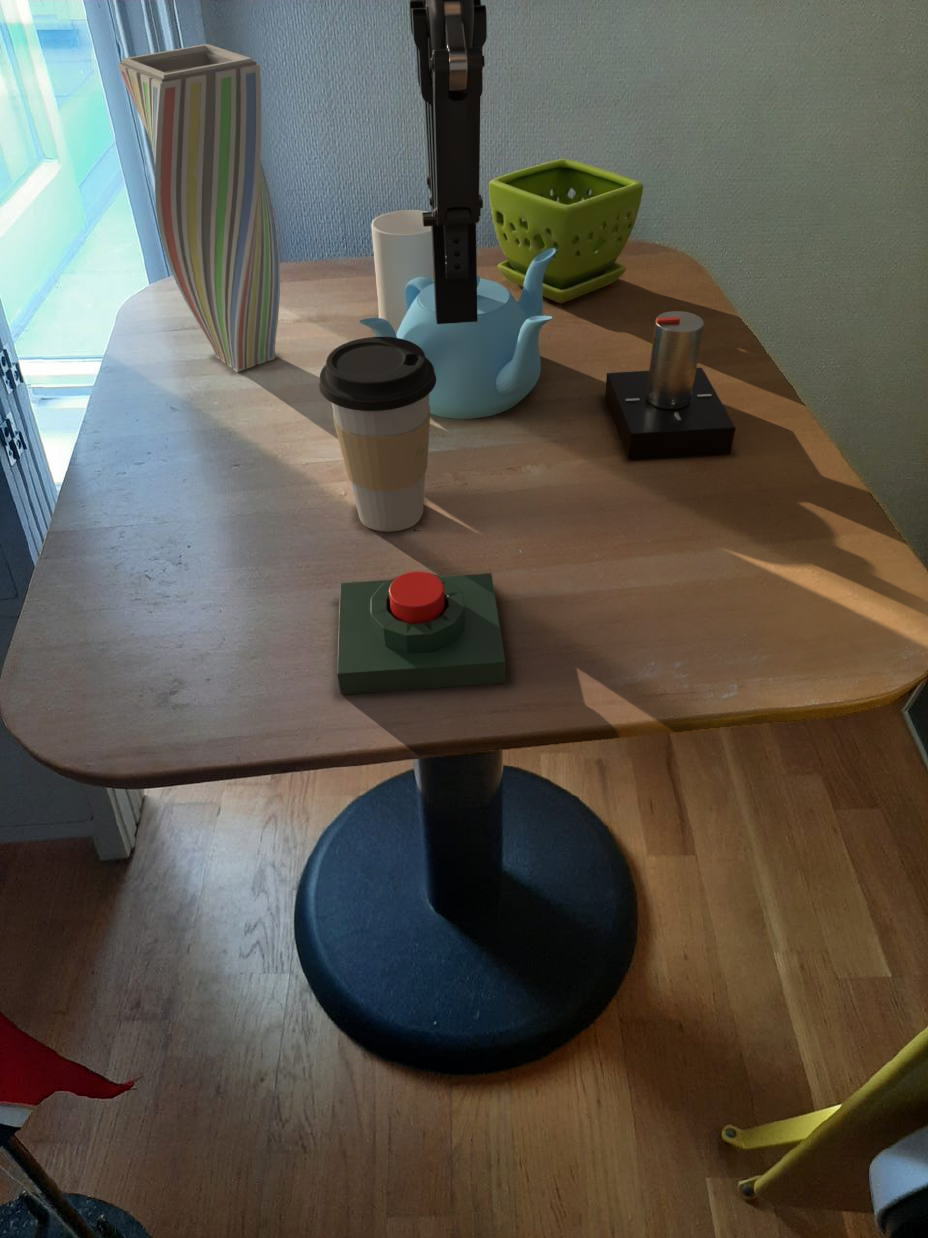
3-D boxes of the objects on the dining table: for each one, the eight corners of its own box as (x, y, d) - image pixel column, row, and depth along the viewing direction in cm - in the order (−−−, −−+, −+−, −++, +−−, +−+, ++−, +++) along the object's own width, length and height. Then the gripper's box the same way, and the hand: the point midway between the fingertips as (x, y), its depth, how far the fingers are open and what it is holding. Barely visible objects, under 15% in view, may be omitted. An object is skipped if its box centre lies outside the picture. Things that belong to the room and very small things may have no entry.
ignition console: (505, 683, 67) (505, 643, 65) (340, 695, 67) (334, 655, 64) (491, 593, 75) (491, 554, 72) (343, 603, 74) (337, 565, 71)
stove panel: (730, 454, 89) (736, 425, 87) (628, 460, 89) (631, 432, 86) (697, 393, 98) (702, 365, 96) (604, 398, 97) (606, 371, 95)
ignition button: (446, 622, 67) (445, 604, 66) (391, 626, 67) (389, 608, 66) (442, 587, 70) (442, 569, 69) (390, 590, 70) (388, 572, 68)
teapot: (553, 432, 93) (559, 315, 84) (369, 430, 94) (357, 315, 85) (550, 352, 105) (555, 244, 97) (388, 352, 106) (379, 244, 98)
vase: (221, 399, 99) (150, 84, 79) (165, 355, 107) (88, 58, 86) (327, 359, 105) (287, 57, 85) (267, 321, 113) (217, 36, 93)
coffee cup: (457, 529, 81) (452, 372, 71) (354, 555, 79) (334, 397, 68) (421, 474, 88) (412, 323, 77) (325, 496, 85) (302, 344, 75)
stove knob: (684, 385, 93) (696, 306, 87) (696, 408, 90) (709, 326, 84) (641, 388, 93) (651, 309, 87) (651, 410, 89) (662, 329, 84)
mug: (359, 307, 115) (348, 207, 107) (421, 293, 118) (416, 195, 110) (393, 345, 107) (385, 241, 99) (460, 330, 110) (457, 227, 102)
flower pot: (560, 316, 112) (566, 208, 104) (484, 282, 120) (483, 179, 111) (637, 283, 119) (648, 179, 110) (560, 253, 127) (565, 154, 118)
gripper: (364, -143, 50) (396, 282, 66) (369, -125, 41) (404, 367, 57) (501, -148, 51) (499, 276, 67) (537, -131, 41) (525, 359, 57)
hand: (456, 317), depth 62 cm, fingers closed
